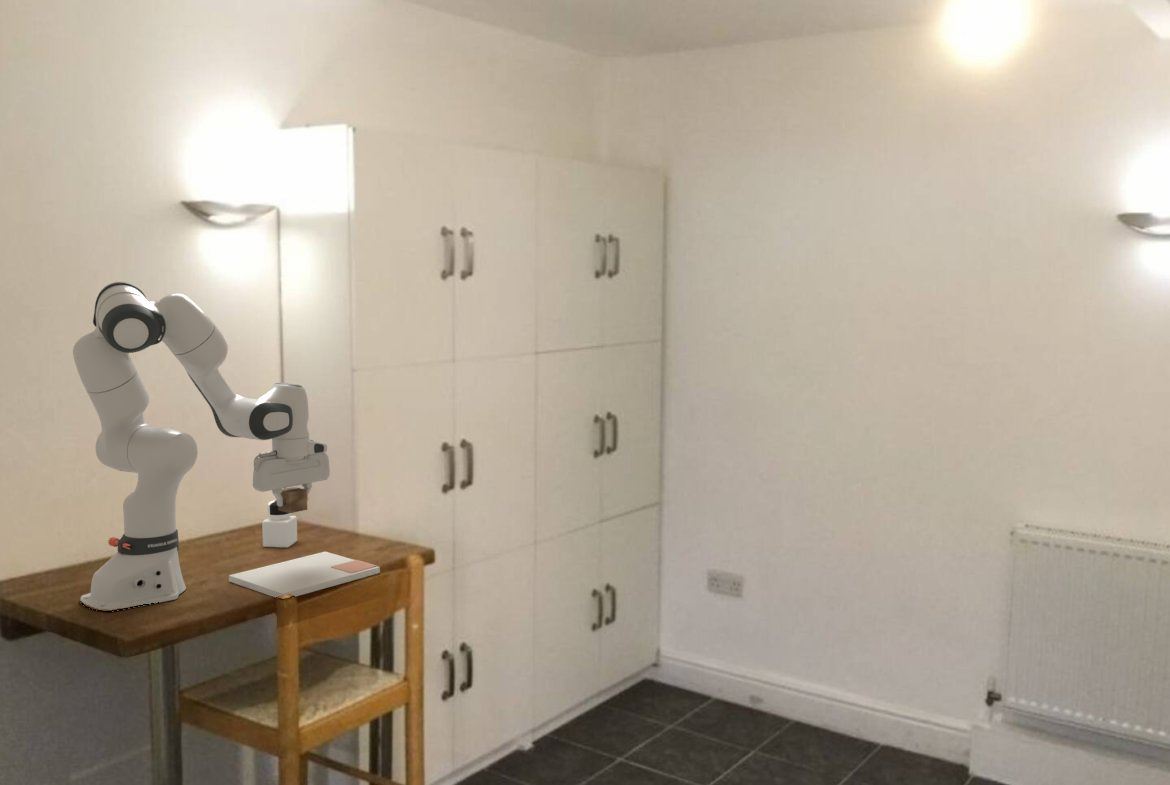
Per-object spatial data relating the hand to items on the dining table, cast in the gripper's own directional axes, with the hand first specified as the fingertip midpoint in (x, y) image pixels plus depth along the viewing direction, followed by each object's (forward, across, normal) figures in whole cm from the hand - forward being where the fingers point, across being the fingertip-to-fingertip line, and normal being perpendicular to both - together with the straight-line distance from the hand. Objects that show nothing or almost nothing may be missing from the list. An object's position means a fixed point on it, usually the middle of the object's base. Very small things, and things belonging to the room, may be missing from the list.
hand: (292, 503), depth 263 cm
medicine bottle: (+17, +13, +25) cm, 33 cm away
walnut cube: (+2, 0, 0) cm, 2 cm away
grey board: (+17, -1, -6) cm, 18 cm away
